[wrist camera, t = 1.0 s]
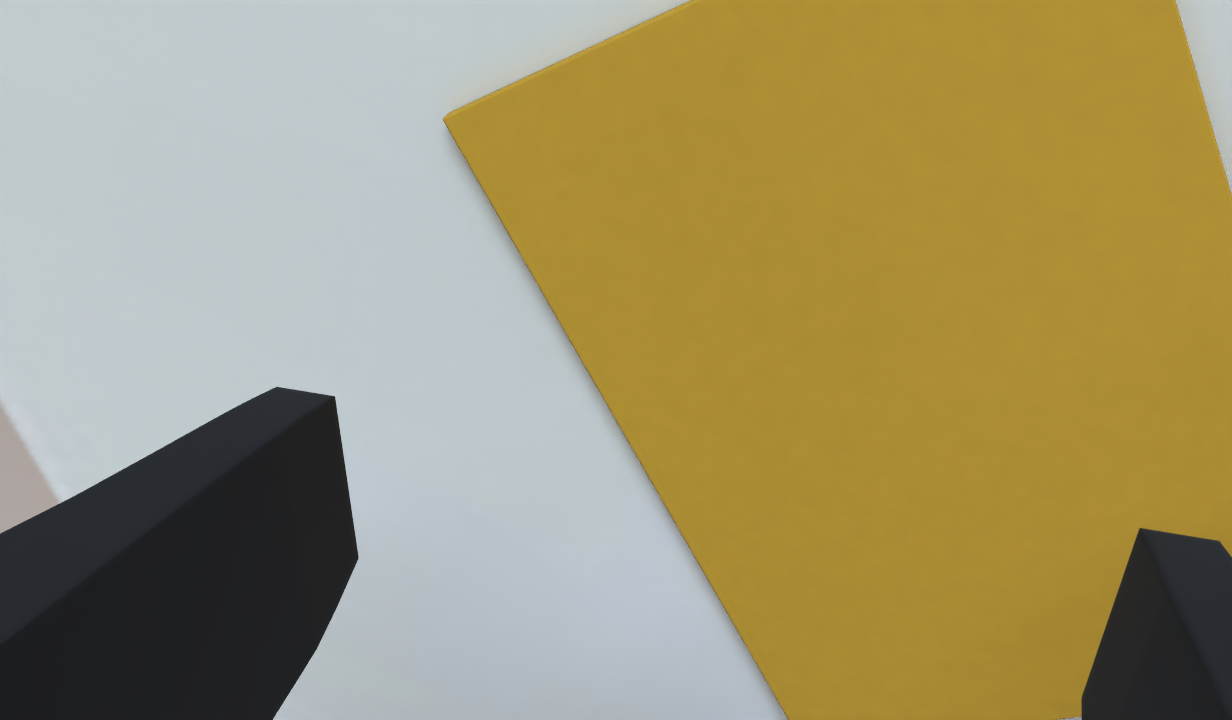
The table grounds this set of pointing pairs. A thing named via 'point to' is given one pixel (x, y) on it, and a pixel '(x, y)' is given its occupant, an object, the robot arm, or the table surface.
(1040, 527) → the mustard cloth
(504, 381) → the table surface
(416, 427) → the table surface
